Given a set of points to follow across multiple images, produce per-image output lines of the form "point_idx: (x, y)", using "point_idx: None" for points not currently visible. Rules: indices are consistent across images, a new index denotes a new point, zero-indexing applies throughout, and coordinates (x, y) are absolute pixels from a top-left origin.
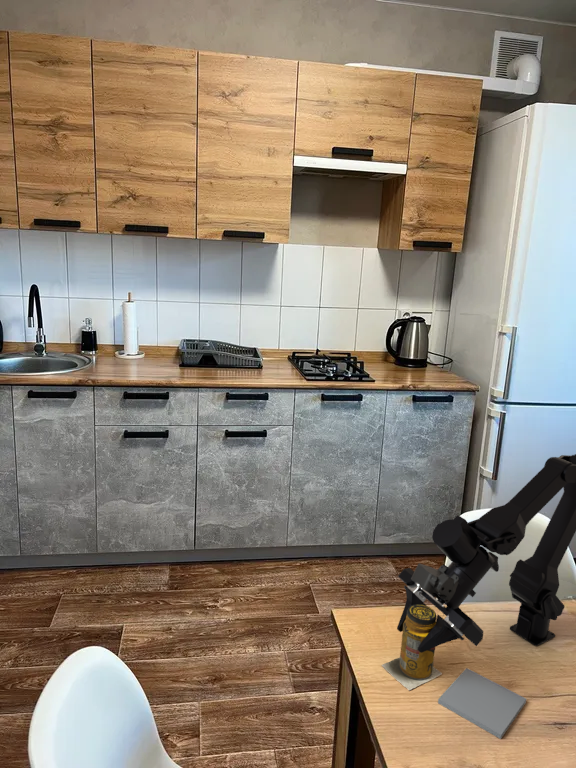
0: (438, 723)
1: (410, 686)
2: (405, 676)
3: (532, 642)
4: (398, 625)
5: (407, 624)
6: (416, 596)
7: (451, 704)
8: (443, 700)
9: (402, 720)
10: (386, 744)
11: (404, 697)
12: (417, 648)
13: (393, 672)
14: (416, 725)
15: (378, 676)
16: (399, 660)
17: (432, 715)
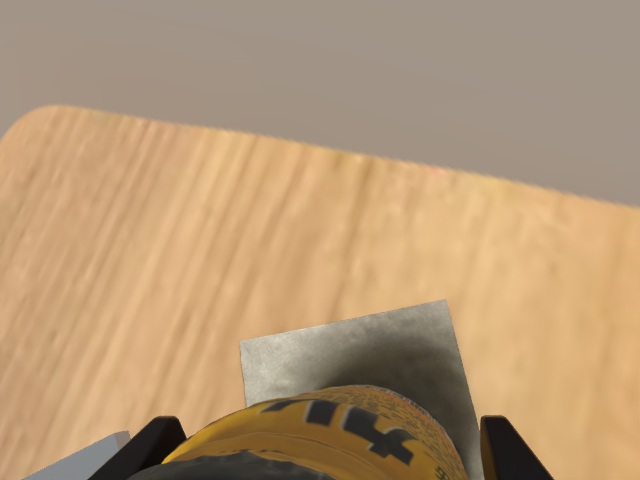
0: (49, 352)
1: (260, 365)
2: (331, 385)
3: None
4: (509, 436)
5: (314, 438)
6: None
7: (61, 474)
8: (96, 452)
9: (125, 219)
10: (73, 114)
11: (219, 297)
12: (171, 417)
13: (377, 338)
14: (83, 258)
15: (381, 251)
16: (458, 433)
17: (89, 355)
